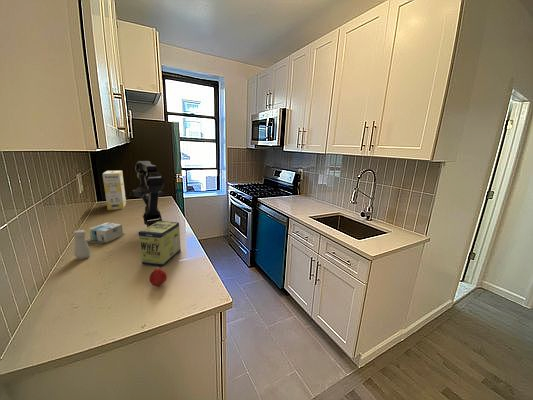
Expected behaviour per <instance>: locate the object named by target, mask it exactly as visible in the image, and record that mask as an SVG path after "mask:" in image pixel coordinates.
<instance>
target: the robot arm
mask: <svg viewBox="0 0 533 400" xmlns="http://www.w3.org/2000/svg"><path fill="white" fill-rule="evenodd" d="M134 169H135V172H136V177H137V178H138V179H139V182H140V183H139V184H138V187H137V188H135V189H133V190H130V192H129V195H130V196H134V197H139V198H141V199H142V200H143V202H144V204H145V207H144V213H143V214H142V218H143V225H145V226H146V228H147V227H149V226H151V225H153V224H154V223H156V222H158V221H163V219H162V214H161V212H160V209H159V208H158V203H159V198H162V197H163V196H164V191H162V190H163V188H164V185H165V179H164V176H163V173H162V172H161V171H160V170H158V167H157V165H155V164H152V162H151V161H149V160H138V161H137V162H136V163H135V168H134ZM153 173H154V174H156V176H151V174H153Z"/></svg>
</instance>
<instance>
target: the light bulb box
mask: <svg viewBox="0 0 533 400" xmlns="http://www.w3.org/2000/svg"><path fill="white" fill-rule="evenodd" d="M88 230H89V236H90V238H91V240H96V241H102V242H107V243H109V242H111V241H113V240H115V239H117V237H118V238H120V237H122V236H124V235H123V233H124V230H123V224H119V223H112V222H109V221H108V222H104V223H102V224H98V225H96V226H92V227H89V228H88ZM90 238H89V239H90Z"/></svg>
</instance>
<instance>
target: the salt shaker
mask: <svg viewBox="0 0 533 400" xmlns="http://www.w3.org/2000/svg"><path fill="white" fill-rule="evenodd" d="M72 236H73V237H74V257H75V258H76V259H77V260H80V261H81V260H85V259H88V258H89V257H90V255H91V248H90V246H89V245H88V242H87V241H86V240H87V239H86V237H85V236H86V231H85V230H84V229H78V230H75V231H73V232H72Z"/></svg>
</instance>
